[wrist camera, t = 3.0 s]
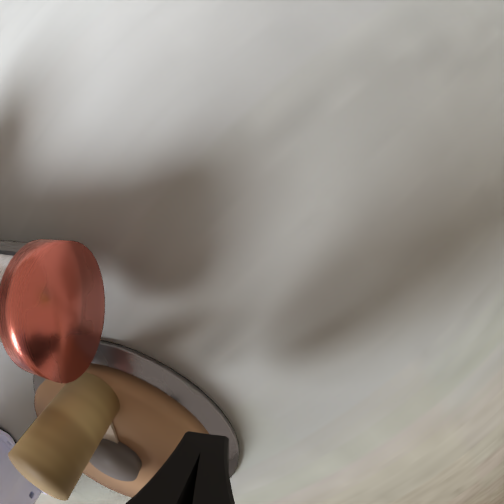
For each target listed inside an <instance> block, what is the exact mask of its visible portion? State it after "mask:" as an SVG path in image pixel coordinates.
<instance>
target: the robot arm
mask: <svg viewBox="0 0 504 504" xmlns="http://www.w3.org/2000/svg"><path fill="white" fill-rule="evenodd" d="M14 446H15V442H14V440H13V439H12V437H11V436H10V435H9V434H8V433H6V432H4V431H3V430H1V429H0V504H34V503H35V502H36V500H37V499H38V497H39V495H40V494H41V492H42V493H44V494H46V493H45V492H43V491H42V490H40V489H39V488H37V487H36V486H34V485H33V484H32V483H31V482H29V481H28V480H27V479H26V478H25V477H24V476H23V475H22V474H21V473H20V472H19V471H18V470H17V469H16V468H15V467H14V465H13V464H12V463H11V461H10V459H9V457H8V453H9V452H10V451H11V449H12V448H13V447H14ZM46 495H48V494H46ZM126 504H235V502H234V498H233V494H232V489H231V483H230V478H229V438H227V437H226V436H220V435H212V434H204V433H197V432H191V431H188V432H186V433H185V434H184V436H183V438H182V439H181V441H180V442H179V444H178V445H177V447H176V448H175V450H174V451H173V452H172V454H171V455H170V456H169V458H168V459H167V460H166V462H165V463H164V464H163V465H162V467H161V468H160V469H159V470H158V471H157V473H156V474H155V475H154V476H153V477H152V478H151V479H150V481H149V482H148V483H147V484H146V485H145V486H144V487H143V488H142V489H141V490H140V491H139V492H138V493H137V494H136V495H135V496H134V497H132V498H131V499H130V500H129V501H128V502H127V503H126Z"/></svg>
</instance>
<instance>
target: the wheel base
mask: <svg viewBox="0 0 504 504" xmlns="http://www.w3.org/2000/svg"><path fill="white" fill-rule="evenodd" d="M91 363H94V364H99V365H104V366H108V367H111V368H115V369H118V370H120V371H123V372H126V373H128V374H131V375H133V376H135V377H137V378H139V379H141V380H144V381H145V382H147V383H149V384H151V385H153V386H154V387H156V388H158V389H159V390H161V391H163V392H164V393H166V394H167V395H169V396H170V397H172V398H173V399H174V400H176V401H177V402H178V403H180V404H181V405H182V406H184V407H185V408H186V409H187V410H188V411H189V412H190V413H192V414H193V415H194V416H195V417H196V418H197V419H198V420H199V422H200V423H201V424H202V425H203V426H204V427H205V429H206V430H207V431H208V433H209V434H212V435H220V436H226V437H227V438H229V478H230V477H231V476H232V475H233V474H234V472H235V470H236V467H237V465H238V458H239V444H238V440H237V437H236V434H235V432H234V430H233V428H232V426H231V424H230V422H229V421H228V419H227V418H226V416H225V415H224V414H223V412H222V411H221V410H220V409H219V408H218V407H217V405H216V404H215V403H214V402H213V401H212V400H211V399H210V398H209V397H208V396H207V395H206V394H204V393H203V392H202V391H201V390H200V389H199V388H198V387H196V386H195V385H194V384H192V383H191V382H190V381H188V380H187V379H186V378H184V377H183V376H181V375H180V374H178V373H177V372H175V371H174V370H172V369H171V368H169V367H167V366H165V365H163V364H162V363H160V362H158V361H156V360H154V359H153V358H150V357H148V356H146V355H144V354H142V353H139V352H137V351H135V350H132V349H129V348H126V347H124V346H121V345H118V344H114V343H110V342H106V341H102V340H100V343H99V346H98V349H97V351H96V354H95V356H94V358H93V360H92V362H91ZM45 380H46V379H45V378H42V377H40V376H37V375H34V378H33V382H34V390H35V394H36V391H37V389H38V387H39V386H40V385H41V384H42V383H43V382H44V381H45Z"/></svg>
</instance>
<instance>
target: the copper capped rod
mask: <svg viewBox="0 0 504 504" xmlns="http://www.w3.org/2000/svg"><path fill="white" fill-rule="evenodd" d="M104 313H105V296H104V286H103V280H102V275H101V272H100V269H99V266H98V263H97V261H96V259H95V257H94V256H93V254H92V253H91V251H90V250H89V249H88V248H87V247H86V246H84V245H83V244H81V243H79V242H76V241H66V240H49V239H38V240H34V241H31V242H29V243H27V244H26V245H24V246H23V247H22V248H21V249H20V250H19V251H18V252H17V253H16V254H15V255H14V256H12V255H4V254H0V342H2V343H3V346H4V348H5V350H6V352H7V354H8V355H9V356H10V358H11V359H12V361H13V362H14V363H15V364H16V365H17V366H19V367H20V368H21V369H23V370H25V371H27V372H29V373H32V374H34V375H37V376H40V377H42V378H45V379H48V380H51V381H54V382H57V383H69V382H72V381H74V380H76V379H78V378H79V377H80V376H81V375H82V374H83V373H84V372H85V371H86V370H87V368H88V367H89V366H90V364H91V362H92V360H93V358H94V356H95V354H96V351H97V349H98V346H99V343H100V339H101V335H102V330H103V323H104Z"/></svg>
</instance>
